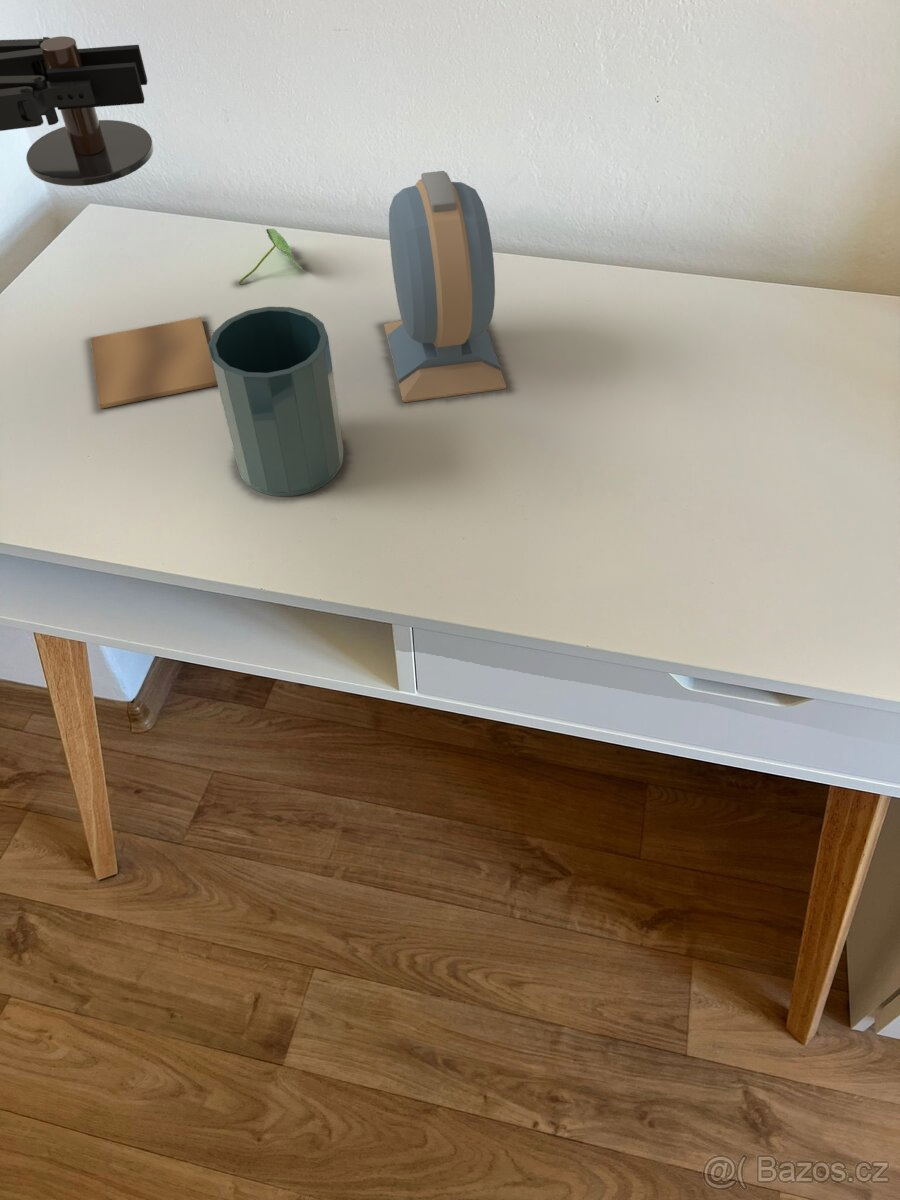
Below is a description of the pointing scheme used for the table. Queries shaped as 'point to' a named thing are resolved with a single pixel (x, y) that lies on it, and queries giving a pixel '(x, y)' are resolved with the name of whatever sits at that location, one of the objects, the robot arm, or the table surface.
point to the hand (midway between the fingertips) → (140, 73)
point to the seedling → (277, 242)
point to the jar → (279, 399)
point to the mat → (152, 362)
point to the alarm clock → (442, 291)
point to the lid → (85, 137)
